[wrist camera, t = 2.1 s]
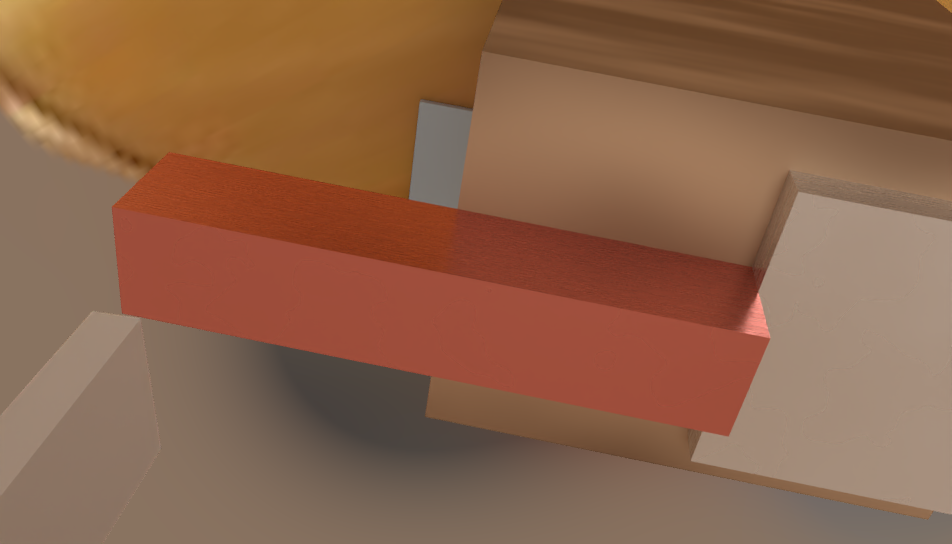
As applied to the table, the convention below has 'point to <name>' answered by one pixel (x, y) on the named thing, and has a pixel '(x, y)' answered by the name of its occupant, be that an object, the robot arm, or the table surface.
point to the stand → (692, 149)
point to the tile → (439, 153)
